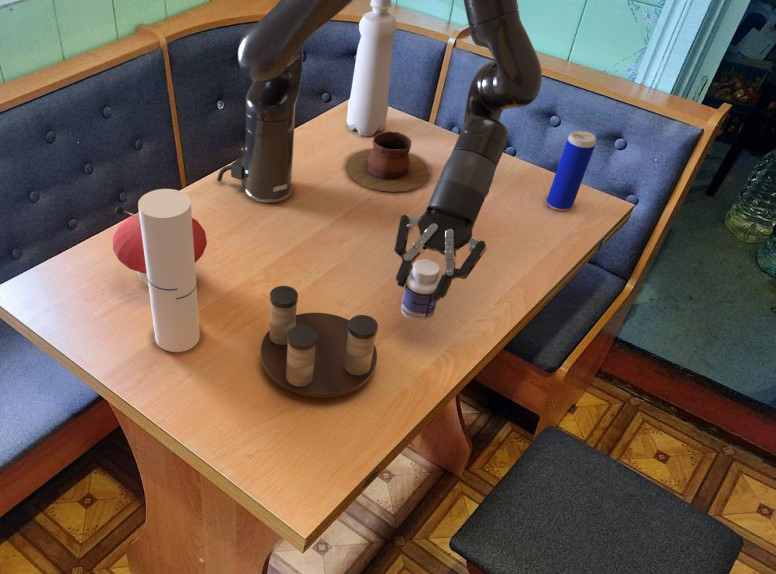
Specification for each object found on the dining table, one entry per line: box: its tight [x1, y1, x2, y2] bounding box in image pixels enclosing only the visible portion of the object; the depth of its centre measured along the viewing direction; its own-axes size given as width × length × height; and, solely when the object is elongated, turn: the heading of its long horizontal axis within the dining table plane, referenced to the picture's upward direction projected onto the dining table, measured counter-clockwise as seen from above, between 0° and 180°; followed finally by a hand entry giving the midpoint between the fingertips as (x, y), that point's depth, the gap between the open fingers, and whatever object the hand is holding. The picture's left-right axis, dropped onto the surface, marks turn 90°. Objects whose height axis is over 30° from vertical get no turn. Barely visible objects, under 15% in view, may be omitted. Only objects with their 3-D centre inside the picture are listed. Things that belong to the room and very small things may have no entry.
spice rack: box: [260, 285, 379, 399], centre depth 110 cm, size 18×18×9 cm
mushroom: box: [112, 206, 208, 288], centre depth 122 cm, size 16×16×15 cm
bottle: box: [346, 0, 398, 137], centre depth 157 cm, size 9×9×30 cm
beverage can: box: [546, 129, 597, 212], centre depth 142 cm, size 5×5×15 cm
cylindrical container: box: [137, 188, 201, 353], centre depth 108 cm, size 7×7×25 cm
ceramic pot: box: [345, 130, 431, 193], centre depth 152 cm, size 18×18×7 cm
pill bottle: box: [400, 258, 441, 322], centre depth 113 cm, size 5×5×9 cm
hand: (418, 292), depth 111 cm, fingers closed on pill bottle, 5 cm apart
